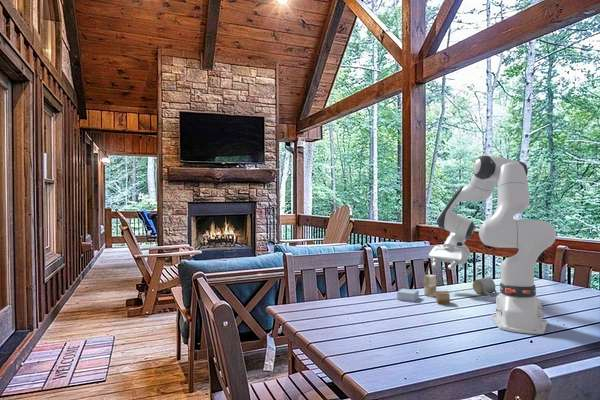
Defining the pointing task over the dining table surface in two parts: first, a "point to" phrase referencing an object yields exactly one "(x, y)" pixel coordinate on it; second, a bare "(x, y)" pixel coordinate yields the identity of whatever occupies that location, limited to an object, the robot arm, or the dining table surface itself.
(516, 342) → the dining table surface
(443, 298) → the walnut cube
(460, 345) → the dining table surface
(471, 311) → the dining table surface
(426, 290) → the birch pillar
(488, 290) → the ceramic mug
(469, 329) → the dining table surface
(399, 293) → the slate slab
